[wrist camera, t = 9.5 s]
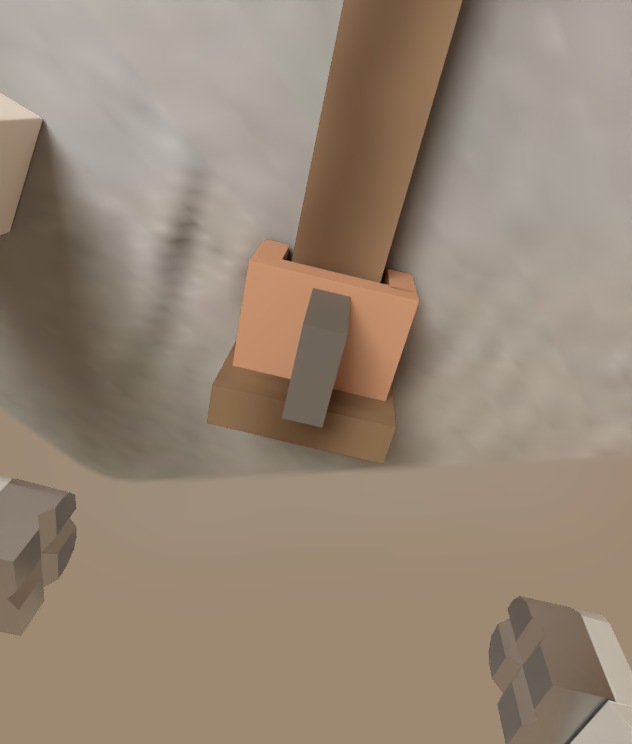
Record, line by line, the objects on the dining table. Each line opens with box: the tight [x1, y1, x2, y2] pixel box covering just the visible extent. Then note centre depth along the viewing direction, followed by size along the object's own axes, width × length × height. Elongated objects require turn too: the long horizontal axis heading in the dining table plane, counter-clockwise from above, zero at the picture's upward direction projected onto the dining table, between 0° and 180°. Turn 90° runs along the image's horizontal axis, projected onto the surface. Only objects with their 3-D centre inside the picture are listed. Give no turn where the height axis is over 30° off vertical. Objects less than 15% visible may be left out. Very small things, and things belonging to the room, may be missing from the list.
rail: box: [207, 0, 463, 464], centre depth 20 cm, size 8×24×6 cm, turn 168°
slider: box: [233, 239, 419, 427], centre depth 22 cm, size 7×5×8 cm
